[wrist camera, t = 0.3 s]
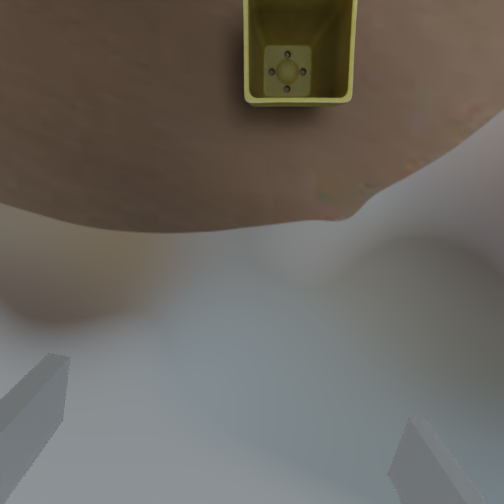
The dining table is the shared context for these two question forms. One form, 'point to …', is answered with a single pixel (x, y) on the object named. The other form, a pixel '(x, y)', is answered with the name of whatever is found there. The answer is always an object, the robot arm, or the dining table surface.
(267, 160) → the dining table surface
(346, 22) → the flower pot
